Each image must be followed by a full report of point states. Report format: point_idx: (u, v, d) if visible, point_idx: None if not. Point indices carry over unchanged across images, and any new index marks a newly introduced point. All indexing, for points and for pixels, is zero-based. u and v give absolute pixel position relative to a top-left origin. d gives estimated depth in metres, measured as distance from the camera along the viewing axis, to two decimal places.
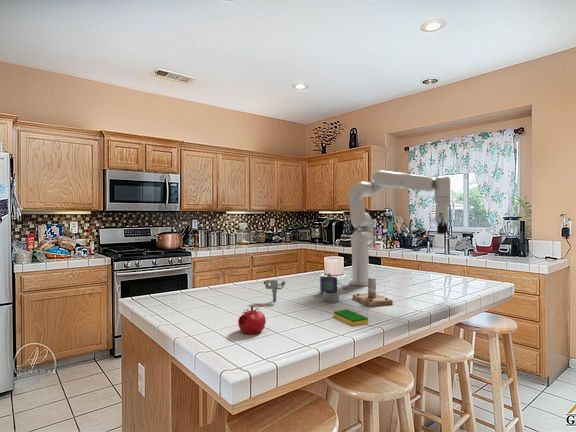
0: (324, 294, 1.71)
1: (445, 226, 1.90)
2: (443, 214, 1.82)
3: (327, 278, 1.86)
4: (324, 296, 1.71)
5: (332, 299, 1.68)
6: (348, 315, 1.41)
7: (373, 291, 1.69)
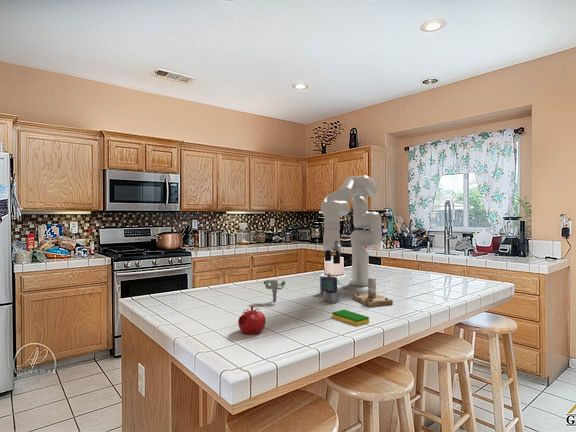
0: (324, 294, 1.71)
1: (329, 254, 1.76)
2: (339, 242, 1.67)
3: (327, 278, 1.86)
4: (324, 296, 1.71)
5: (332, 299, 1.68)
6: (349, 315, 1.41)
7: (373, 291, 1.69)
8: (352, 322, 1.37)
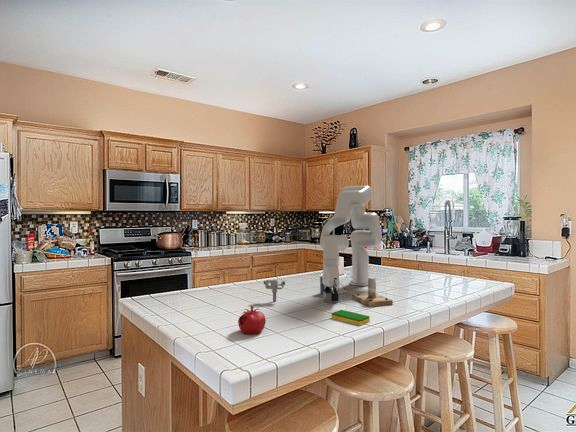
0: (324, 294, 1.71)
1: None
2: (338, 279, 1.67)
3: None
4: (324, 296, 1.71)
5: None
6: (349, 315, 1.41)
7: (373, 291, 1.69)
8: (354, 322, 1.37)
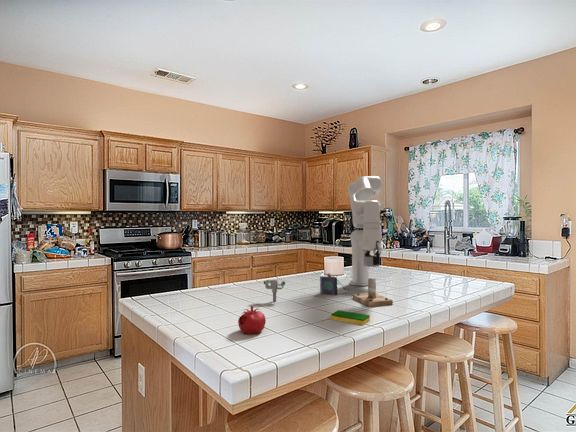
0: (365, 258, 1.69)
1: None
2: (379, 242, 1.66)
3: (327, 278, 1.86)
4: (365, 260, 1.69)
5: None
6: (350, 315, 1.41)
7: (373, 291, 1.69)
8: (357, 322, 1.37)
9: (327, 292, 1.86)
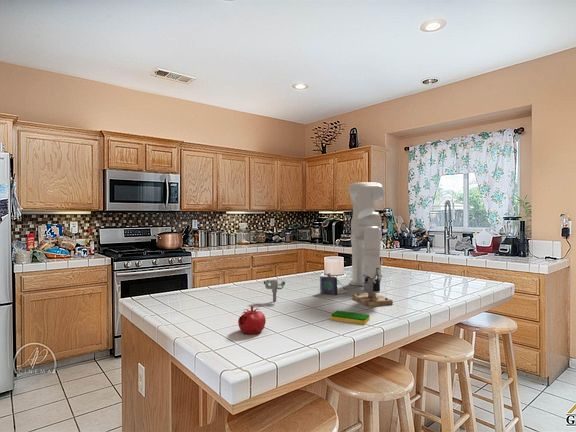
0: (365, 284, 1.69)
1: None
2: (379, 269, 1.66)
3: (327, 278, 1.86)
4: (365, 286, 1.69)
5: None
6: (351, 315, 1.41)
7: None
8: (358, 322, 1.37)
9: (327, 292, 1.86)
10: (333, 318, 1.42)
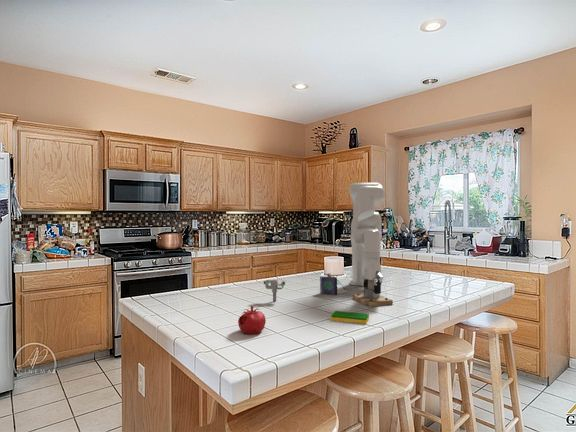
0: (365, 290, 1.70)
1: None
2: (379, 272, 1.66)
3: (327, 278, 1.86)
4: (365, 292, 1.70)
5: (374, 295, 1.67)
6: (351, 315, 1.41)
7: None
8: (360, 321, 1.38)
9: (327, 292, 1.86)
10: (333, 319, 1.41)
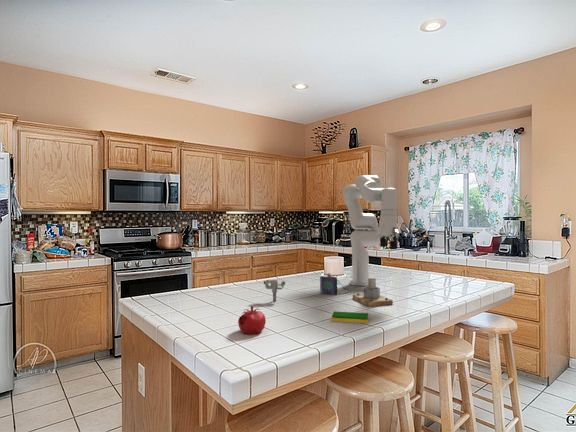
0: (365, 290, 1.70)
1: (385, 240, 1.81)
2: (396, 228, 1.72)
3: (327, 278, 1.86)
4: (365, 292, 1.70)
5: (374, 295, 1.67)
6: (351, 315, 1.41)
7: None
8: (361, 321, 1.38)
9: (327, 292, 1.86)
10: (334, 319, 1.41)
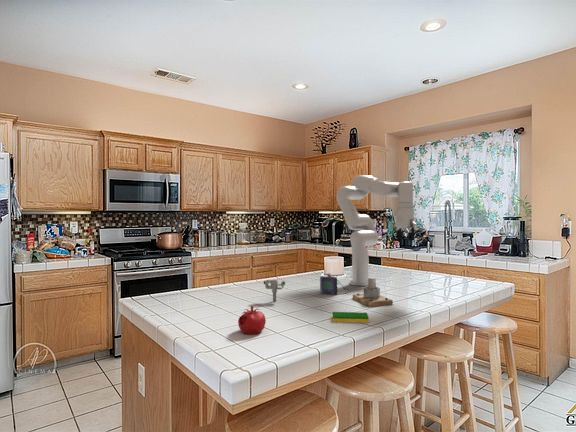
0: (365, 290, 1.70)
1: (401, 232, 1.87)
2: (413, 220, 1.78)
3: (327, 278, 1.86)
4: (365, 292, 1.70)
5: (374, 295, 1.67)
6: (352, 315, 1.41)
7: None
8: (362, 321, 1.39)
9: (327, 292, 1.86)
10: (335, 320, 1.40)
